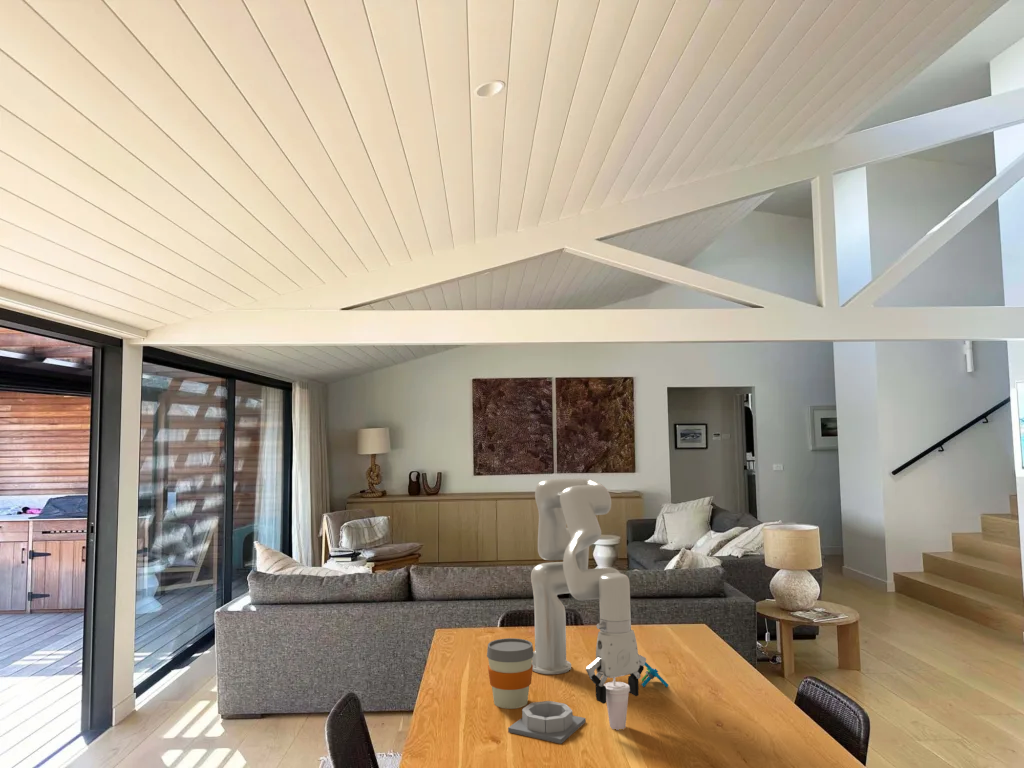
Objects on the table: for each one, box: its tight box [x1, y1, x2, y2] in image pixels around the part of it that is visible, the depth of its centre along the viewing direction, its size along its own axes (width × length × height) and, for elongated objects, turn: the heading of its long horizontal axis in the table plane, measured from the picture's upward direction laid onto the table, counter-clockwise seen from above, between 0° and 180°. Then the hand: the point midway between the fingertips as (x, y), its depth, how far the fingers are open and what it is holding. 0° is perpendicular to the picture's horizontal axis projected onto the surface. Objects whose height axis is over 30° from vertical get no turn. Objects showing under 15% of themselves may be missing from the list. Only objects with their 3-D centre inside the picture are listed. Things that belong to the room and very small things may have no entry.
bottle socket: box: [507, 700, 587, 745], centre depth 170 cm, size 14×14×4 cm
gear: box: [640, 661, 669, 688], centre depth 198 cm, size 11×6×10 cm
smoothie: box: [604, 677, 630, 731], centre depth 170 cm, size 6×6×14 cm
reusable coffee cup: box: [486, 637, 534, 710], centre depth 187 cm, size 13×13×15 cm
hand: (617, 698), depth 170 cm, fingers open, 9 cm apart
